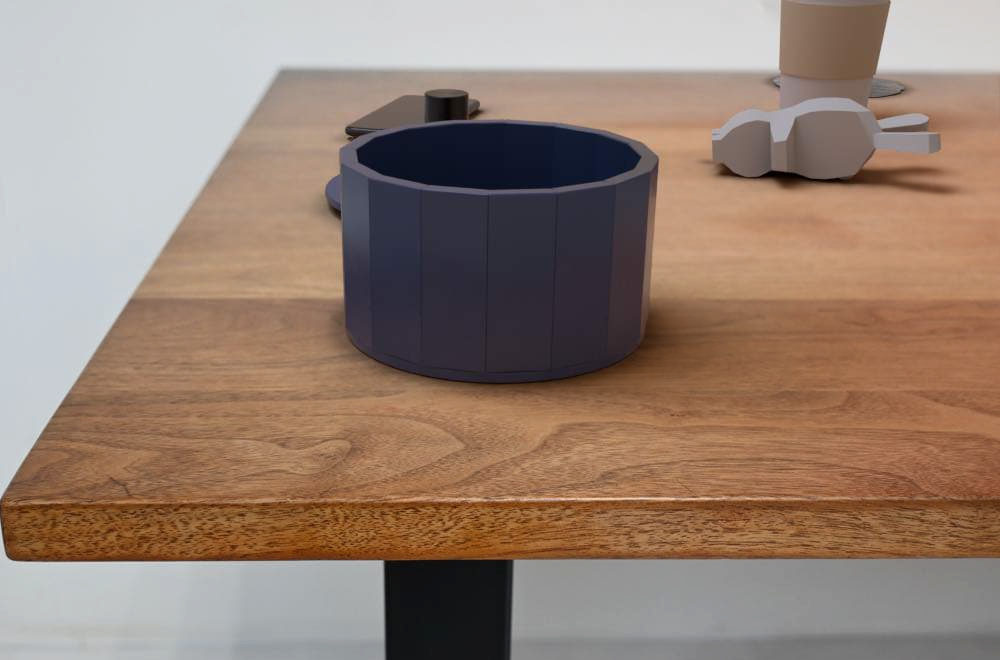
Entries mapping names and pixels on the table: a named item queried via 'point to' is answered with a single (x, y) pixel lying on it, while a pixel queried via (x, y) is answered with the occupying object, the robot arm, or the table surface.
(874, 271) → the table surface
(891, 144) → the bunny figurine
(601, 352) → the pot
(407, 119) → the smartphone
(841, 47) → the coffee cup
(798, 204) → the table surface
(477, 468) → the table surface
